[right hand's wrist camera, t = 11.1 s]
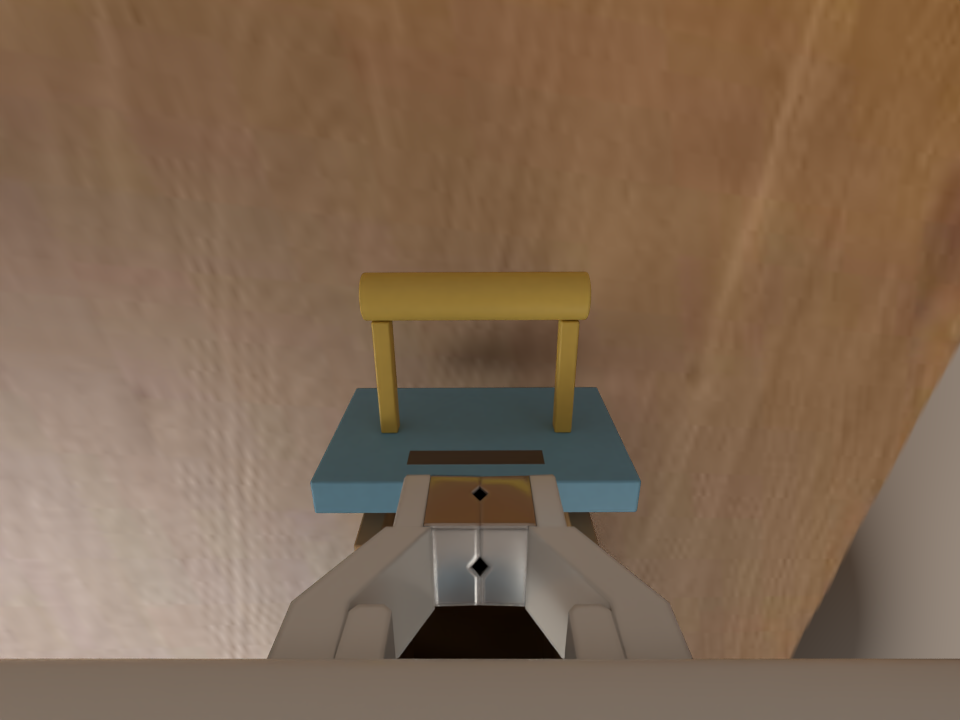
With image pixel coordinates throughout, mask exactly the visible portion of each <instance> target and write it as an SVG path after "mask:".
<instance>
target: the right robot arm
mask: <svg viewBox="0 0 960 720" xmlns="http://www.w3.org/2000/svg"><path fill="white" fill-rule="evenodd" d="M467 605H492V606H525V609H526V610H527V612H528V613H529V614H530V616H531V617H532V618H533V620H534V621H535V622H536V624H537V625H538V626H539V628H540V629H541V631H542V632H543V633H544V635H545V636H546V637H547V639H548V640H549V641H550V643H551V644H552V645H553V647H554V648H555V649H556V651H557V652H558V654H559V655H560V656H561V658H562V659H398V658H399V657H400V655H401V654H402V653H403V651H404V650H405V649H406V647H407V646H408V644H409V643H410V642H411V640H412V639H413V638H414V636H415V635H416V634H417V632H418V631H419V630H420V628H421V627H422V626H423V624H424V623H425V622H426V620H427V619H428V618H429V616H430V615H431V614H432V612H433V611H434V609H435V606H467ZM0 720H960V659H693V658H692V655H691V653H690V651H689V648H688V646H687V644H686V641H685V639H684V636H683V634H682V632H681V629H680V627H679V625H678V622H677V620H676V617H675V615H674V613H673V610H672V608H671V606H670V603H669V602H668V601H667V600H665V599H664V598H663V597H662V596H660V595H659V594H658V593H657V592H655V591H654V590H653V589H652V588H650V587H649V586H648V585H647V584H645V583H644V582H643V581H642V580H640V579H639V578H638V577H637V576H635V575H634V574H633V573H632V572H630V571H629V570H628V569H627V568H625V567H624V566H623V565H622V564H620V563H619V562H618V561H617V560H615V559H614V558H613V557H612V556H610V555H609V554H608V553H607V552H605V551H604V550H603V549H602V548H600V547H599V546H598V545H597V544H595V543H594V542H593V541H592V540H590V539H589V538H588V537H587V536H585V535H584V534H583V533H582V532H580V531H579V530H578V529H577V528H575V527H567V524H566V520H565V516H564V511H563V507H562V503H561V499H560V495H559V491H558V486H557V482H556V478H555V476H554V475H553V474H545V475H529V476H472V475H432V476H431V475H406V477H405V478H404V482H403V486H402V490H401V494H400V499H399V503H398V507H397V511H396V515H395V520H394V524H393V527H385V528H383V529H382V530H381V531H380V532H378V533H377V534H376V535H375V536H373V537H372V538H371V539H370V540H368V541H367V542H366V543H365V544H363V545H362V546H361V547H359V548H358V549H357V550H356V551H354V552H353V553H352V554H351V555H349V556H348V557H347V558H346V559H344V560H343V561H342V562H341V563H339V564H338V565H337V566H336V567H334V568H333V569H332V570H331V571H329V572H328V573H327V574H326V575H324V576H323V577H322V578H321V579H319V580H318V581H317V582H316V583H314V584H313V585H312V586H311V587H309V588H308V589H307V590H306V591H304V592H303V593H302V594H301V595H299V596H298V597H297V598H296V599H294V600H293V601H292V602H291V604H290V606H289V609H288V611H287V613H286V616H285V618H284V620H283V623H282V625H281V627H280V630H279V632H278V634H277V637H276V639H275V641H274V644H273V646H272V648H271V651H270V653H269V655H268V658H267V659H0Z"/></svg>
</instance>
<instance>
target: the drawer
mask: <svg viewBox="0 0 960 720" xmlns="http://www.w3.org/2000/svg"><path fill="white" fill-rule="evenodd" d="M359 304H360V311H361V314H362V317H363V319H364V320H366V321H372V323H371V327H372V337H373V348H374V359H375V370H376V381H377V388H358V389H356V391H355V393H354V395H353V397H352V399H351V401H350V403H349V405H348V407H347V409H346V411H345V413H344V415H343V417H342V420H341V422H340V424H339V426H338V428H337V430H336V432H335V434H334V436H333V438H332V440H331V442H330V444H329V446H328V448H327V450H326V452H325V454H324V456H323V458H322V460H321V462H320V464H319V466H318V468H317V470H316V472H315V474H314V476H313V478H312V480H311V483H310V484H311V490H312V496H313V502H314V508H315V512H316V513H364V515H363V518H362V522H361V525H360V528H359V531H358V534H357V538H356V541H355V544H354V550H355V551H356V550H357V549H358V548H359V547H361V546H362V545H363V544H365V543H366V542H367V541H368V540H370V539H371V538H372V537H373V536H375V535H376V534H377V533H378V532H380V531H381V530H382V529H383V528H385V527H393V524H394V520H395V515H396V511H397V507H398V503H399V499H400V494H401V490H402V486H403V482H404V478H405V477H406V475H431V476H432V475H472V476H529V475H545V474H553V475H554V476H555V478H556V482H557V486H558V491H559V495H560V499H561V503H562V507H563V511H564V516H565V520H566V524H567V527H575V528H577V529H578V530H579V531H580V532H582V533H583V534H584V535H585V536H587V537H588V538H589V539H590V540H592V541H593V542H594V543H595V544H597V545H598V546H599V544H598V541H597V537H596V534H595V531H594V527H593V524H592V520H591V517H590V514H589V512H636V511H637V506H638V499H639V492H640V485H641V480H640V478H639V476H638V474H637V472H636V470H635V468H634V466H633V463H632V461H631V459H630V457H629V455H628V453H627V451H626V449H625V447H624V444H623V442H622V440H621V438H620V436H619V434H618V432H617V430H616V427H615V425H614V423H613V421H612V419H611V417H610V415H609V413H608V411H607V408H606V406H605V404H604V402H603V400H602V398H601V396H600V394H599V392H598V389H597V388H596V387H575V375H576V362H577V349H578V336H579V321H578V320H585V319H587V317H588V314H589V311H590V304H591V284H590V278H589V275H588V273H587V272H408V273H363V274H362V276H361V279H360V284H359ZM392 320H559V323H558V340H557V357H556V373H555V388H397V378H396V365H395V352H394V338H393V325H392ZM398 659H562V658H561V656H560V655H559V654H558V652H557V651H556V649H555V648H554V647H553V645H552V644H551V643H550V641H549V640H548V639H547V637H546V636H545V635H544V633H543V632H542V631H541V629H540V628H539V626H538V625H537V624H536V622H535V621H534V620H533V618H532V617H531V616H530V614H529V613H528V612H527V610H526V609H525V606H492V605H467V606H435V609H434V611H433V612H432V614H431V615H430V616H429V618H428V619H427V620H426V622H425V623H424V624H423V626H422V627H421V628H420V630H419V631H418V632H417V634H416V635H415V636H414V638H413V639H412V640H411V642H410V643H409V644H408V646H407V647H406V649H405V650H404V651H403V653H402V654H401V655H400V657H399V658H398Z"/></svg>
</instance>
